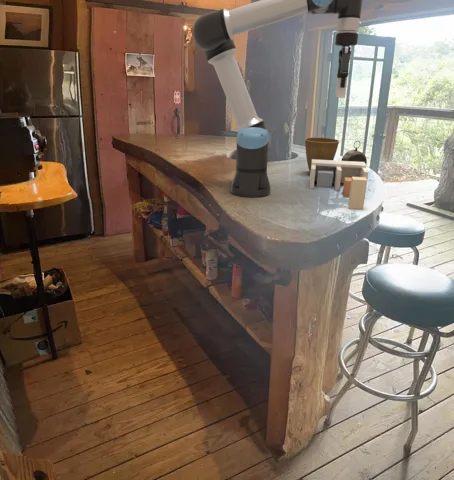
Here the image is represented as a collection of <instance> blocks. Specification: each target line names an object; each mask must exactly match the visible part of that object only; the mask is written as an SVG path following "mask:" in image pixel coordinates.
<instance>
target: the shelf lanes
mask: <svg viewBox="0 0 454 480" xmlns="http://www.w3.org/2000/svg"><path fill="white" fill-rule="evenodd" d="M367 167H368V166H367V164H365V162H355V161H341V160H317V159H312V163H311V173H310V172H309V177H310V178H309V189H311V190H314V188H315V182H317V174H318V170H333V181H332V183H333V186H334V187H333V188H334V190H335V191H340V189H341V184H344V177H346V178H352V177H366V179H367V181H368V178H369V171H368V169H367Z"/></svg>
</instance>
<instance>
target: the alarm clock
mask: <svg viewBox="0 0 454 480" xmlns="http://www.w3.org/2000/svg"><path fill="white" fill-rule="evenodd" d="M355 143H359V146H358V147H357V146H356V147H355V146H353V148H354V149H350V150H348V151H346V152H345V153H344V154H343V155H342V157H341V159H340V161H355V162H365V164H366V165H367V164H368V163H367V162H368V159H367V157H366V155H365V154H364V153H363V152H362V151H360V150H358V149H360V146H361V142H360V140H355V142H353V145H355Z"/></svg>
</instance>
